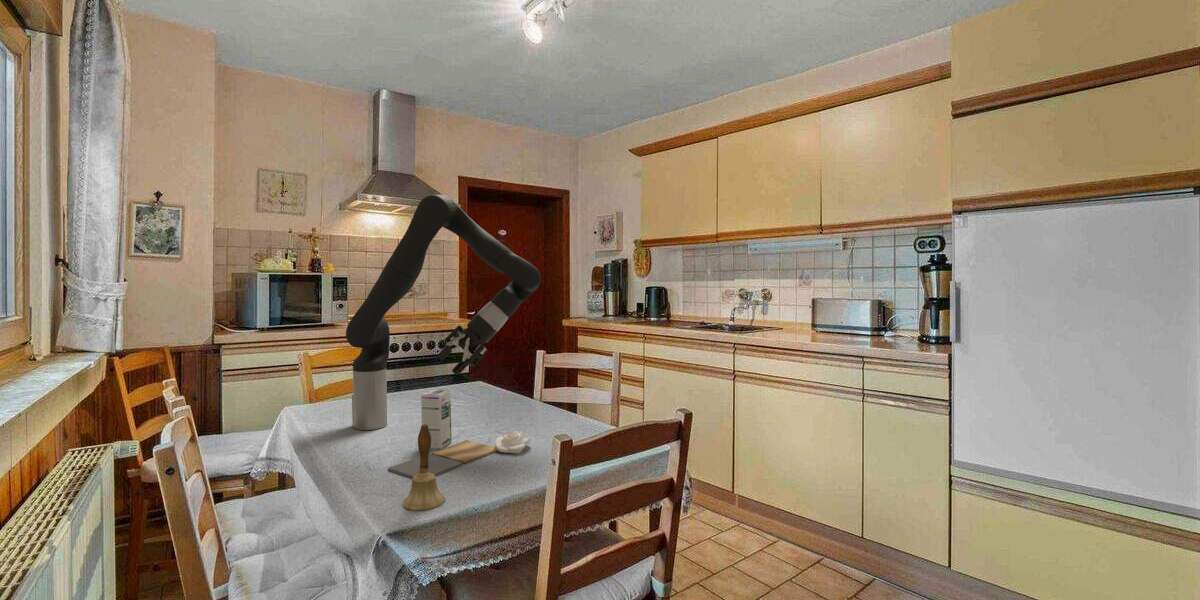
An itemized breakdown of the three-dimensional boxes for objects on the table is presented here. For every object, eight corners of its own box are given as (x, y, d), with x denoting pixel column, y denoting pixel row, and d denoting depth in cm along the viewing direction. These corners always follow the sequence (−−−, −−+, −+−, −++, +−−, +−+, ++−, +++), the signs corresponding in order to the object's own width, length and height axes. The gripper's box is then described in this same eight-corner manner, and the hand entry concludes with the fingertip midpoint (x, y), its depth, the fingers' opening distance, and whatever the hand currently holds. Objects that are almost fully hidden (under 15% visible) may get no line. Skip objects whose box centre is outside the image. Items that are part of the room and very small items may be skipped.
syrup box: (441, 449, 146) (441, 394, 145) (421, 447, 147) (420, 393, 146) (451, 442, 151) (451, 390, 150) (431, 441, 152) (431, 388, 151)
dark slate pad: (387, 470, 130) (387, 467, 130) (428, 455, 140) (428, 453, 140) (422, 481, 124) (422, 478, 124) (462, 465, 134) (462, 462, 134)
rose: (538, 435, 144) (503, 439, 139) (537, 452, 144) (502, 456, 139) (523, 424, 153) (490, 426, 148) (522, 439, 153) (488, 442, 148)
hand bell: (433, 490, 119) (432, 417, 118) (452, 502, 113) (451, 425, 112) (395, 501, 113) (394, 424, 112) (413, 515, 107) (412, 434, 106)
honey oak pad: (431, 454, 141) (431, 452, 141) (466, 442, 151) (466, 440, 151) (465, 464, 135) (465, 461, 135) (499, 450, 145) (499, 448, 145)
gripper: (467, 304, 156) (426, 347, 153) (493, 325, 147) (450, 371, 143) (482, 318, 162) (443, 360, 158) (508, 339, 152) (467, 384, 149)
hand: (446, 365), depth 151 cm, fingers open, 8 cm apart
